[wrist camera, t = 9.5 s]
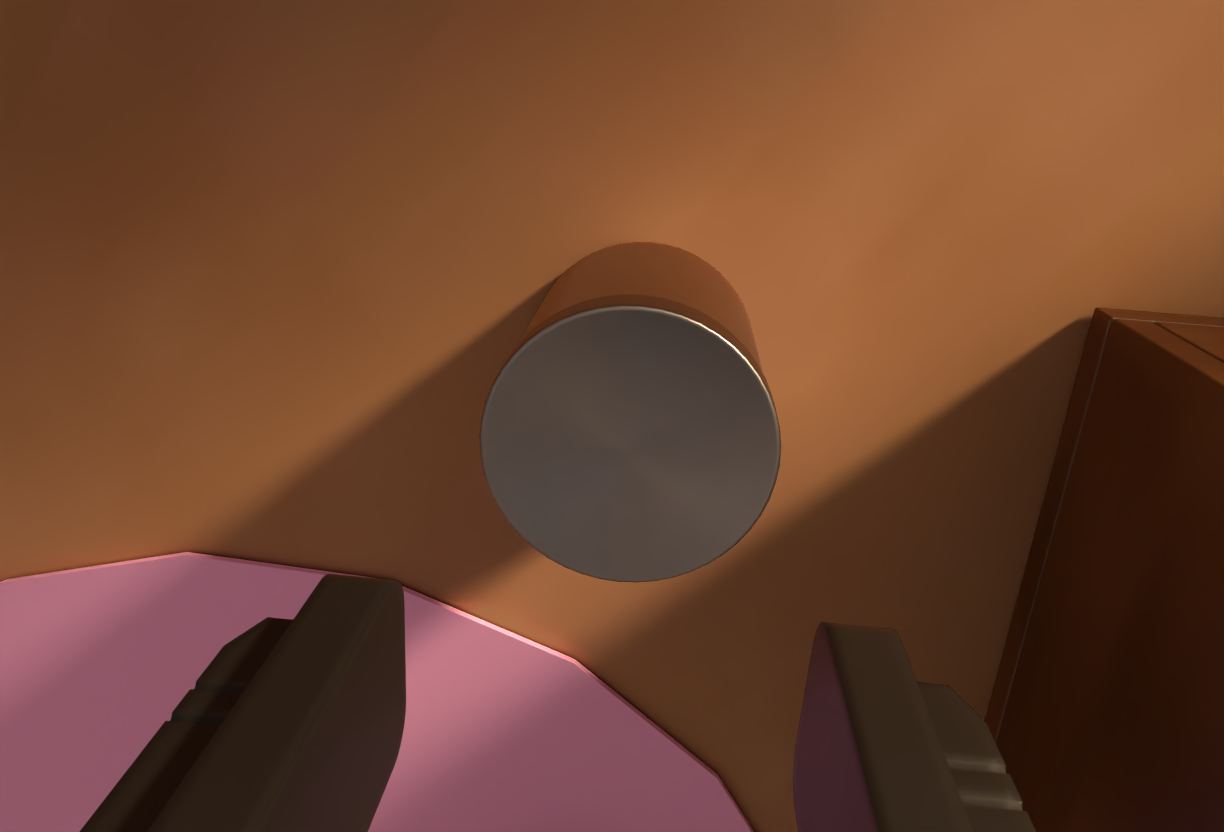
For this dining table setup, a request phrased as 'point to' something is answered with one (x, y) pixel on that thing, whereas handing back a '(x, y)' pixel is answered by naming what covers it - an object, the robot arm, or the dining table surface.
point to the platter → (434, 721)
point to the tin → (633, 418)
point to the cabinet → (1125, 593)
